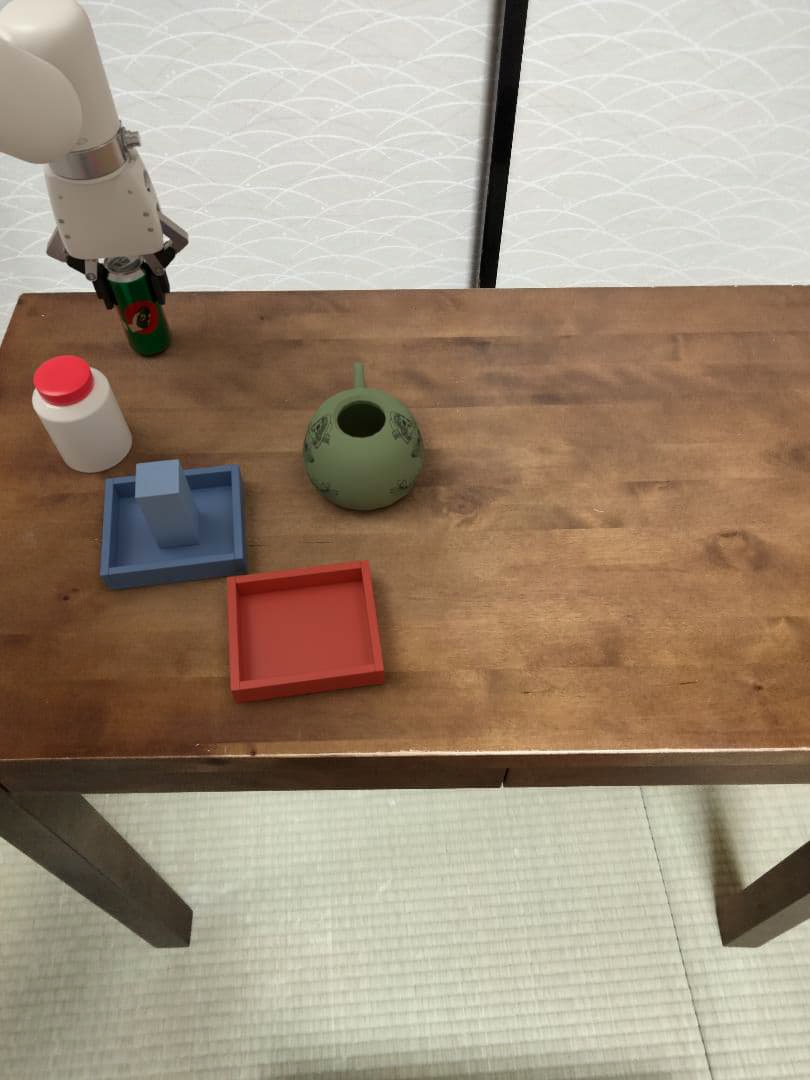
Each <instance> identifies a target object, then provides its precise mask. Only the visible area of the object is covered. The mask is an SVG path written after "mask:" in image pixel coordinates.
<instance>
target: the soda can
mask: <svg viewBox="0 0 810 1080" xmlns="http://www.w3.org/2000/svg"><path fill="white" fill-rule="evenodd" d="M102 263H103V265H104V268H103V275H104V278H105V280H106V283H107V286H108V288H109V291H110V294H111V296H112V299H113V302H114V308H115V309H116V312H117V315H118V317H119V320H120V323H121V326H122V329H123V331H124V334H125V336H126V339H127V342H128V345H129V347H130V348H131V350H133V352H136V353H138V354H140V355H141V354H142V355H146V356H152V355H156V354H159V353H162V352H163V351H165V349H167V348H168V346H169V345H170V344H171V342H172V338H173V335H172V332H171V328H170V325H169V321H168V319H167V315H166V311H165V309H164V306H163V305H160V304H158V301H157V298H156V295H155V292H154V288H153V285H152V282H151V278H150V271H151V268H150V267H149V265H148V264H147V262H146V261H145V259H144V258H143V257H142V255H136V256H125V257H113V258H103V262H102Z"/></svg>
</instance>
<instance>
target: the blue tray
mask: <svg viewBox="0 0 810 1080" xmlns="http://www.w3.org/2000/svg"><path fill="white" fill-rule="evenodd" d="M183 471H184V474H185V477H186V479H187V482H188V485H189V487H190V490H191V493H192V495H193V498H194V501H195V503H196V506H197V508H198V511H199V544H196V545H187V546H179V547H171V548H162V549H160V548H159V546H158V544H157V542H156V540H155V538H154V536H153V534H152V532H151V530H150V528H149V526H148V523H147V521H146V519H145V517H144V515H143V513H142V511H141V509H140V507H139V505H138V503H137V501H136V499H135V485H136V475H129V476H119V477H112V478H111V477H110V478H105V488H104V503H103V519H102V538H101V552H100V567H99V568H100V569H99V576H100V579H102V581H103V583H104V584H105V586H106V587H107V589H108V591H116V590H117V591H118V590H124V589H125V590H126V589H132V588H133V589H134V588H139V587H140V588H141V587H149V586H157V585H165V584H172V583H173V584H174V583H182V582H188V581H189V582H190V581H198V580H205V579H213V578H222V577H232V576H240V575H248V573H249V569H248V548H247V547H248V546H247V531H246V510H245V509H246V507H245V492H244V491H245V490H244V489H245V488H244V479H243V475H242V471H241V468H240V464H239V463H235V464H234V463H233V464H225V465H224V464H223V465H217V466H207V467H197V468H190V469H189V468H188V469H183Z"/></svg>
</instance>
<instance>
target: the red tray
mask: <svg viewBox="0 0 810 1080" xmlns="http://www.w3.org/2000/svg"><path fill="white" fill-rule="evenodd" d="M226 589H227V591H226V592H227V618H228V619H227V620H228V621H227V622H228V643H229V644H228V648H229V677H230V681H229V682H230V692H231V694H232V696H233V698H234V700H235V703H236V704H240V703H248V702H256V701H262V700H270V699H277V698H284V697H291V696H300V695H307V694H315V693H321V692H329V691H336V690H343V689H350V688H351V689H352V688H359V687H365V686H372V685H373V686H374V685H379V684H385V683H386V682H385V680H386V679H385V666H384V659H383V652H382V646H381V645H382V644H381V639H380V638H381V637H380V630H379V624H378V617H377V610H376V603H375V597H374V588H373V582H372V575H371V567H370V560H369V559H365V560H357V561H349V562H341V563H332V564H324V565H316V566H309V567H300V568H292V569H283V570H275V571H267V572H260V573H252V574H242V575H233V576H226Z"/></svg>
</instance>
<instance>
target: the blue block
mask: <svg viewBox="0 0 810 1080" xmlns="http://www.w3.org/2000/svg"><path fill="white" fill-rule="evenodd" d="M183 470H184V469H183V466H182V463H181V461H180V459H179V458H174V459H166V460H159V461H149V462H140V463H136V465H135V476H136V485H135V499H136V501H137V503H138V505H139V507H140V509H141V511H142V513H143V515H144V517H145V519H146V521H147V523H148V526H149V528H150V530H151V532H152V534H153V536H154V538H155V540H156V542H157V544H158V546H159V548H160V549H162V548H171V547H179V546H187V545H196V544H199V511H198V508H197V506H196V503H195V501H194V498H193V495H192V493H191V490H190V487H189V485H188V482H187V479H186V477H185V474H184V471H183Z"/></svg>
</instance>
